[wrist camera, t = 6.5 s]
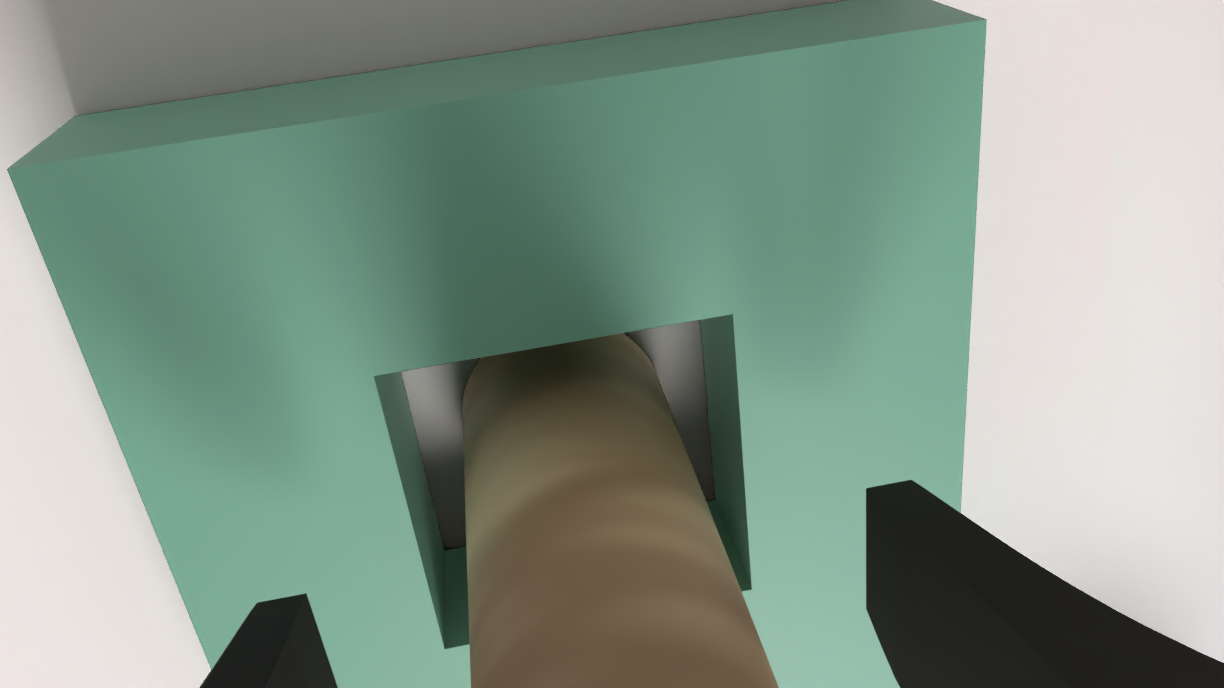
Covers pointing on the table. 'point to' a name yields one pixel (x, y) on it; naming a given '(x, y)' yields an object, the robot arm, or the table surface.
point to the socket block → (531, 303)
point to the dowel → (593, 531)
